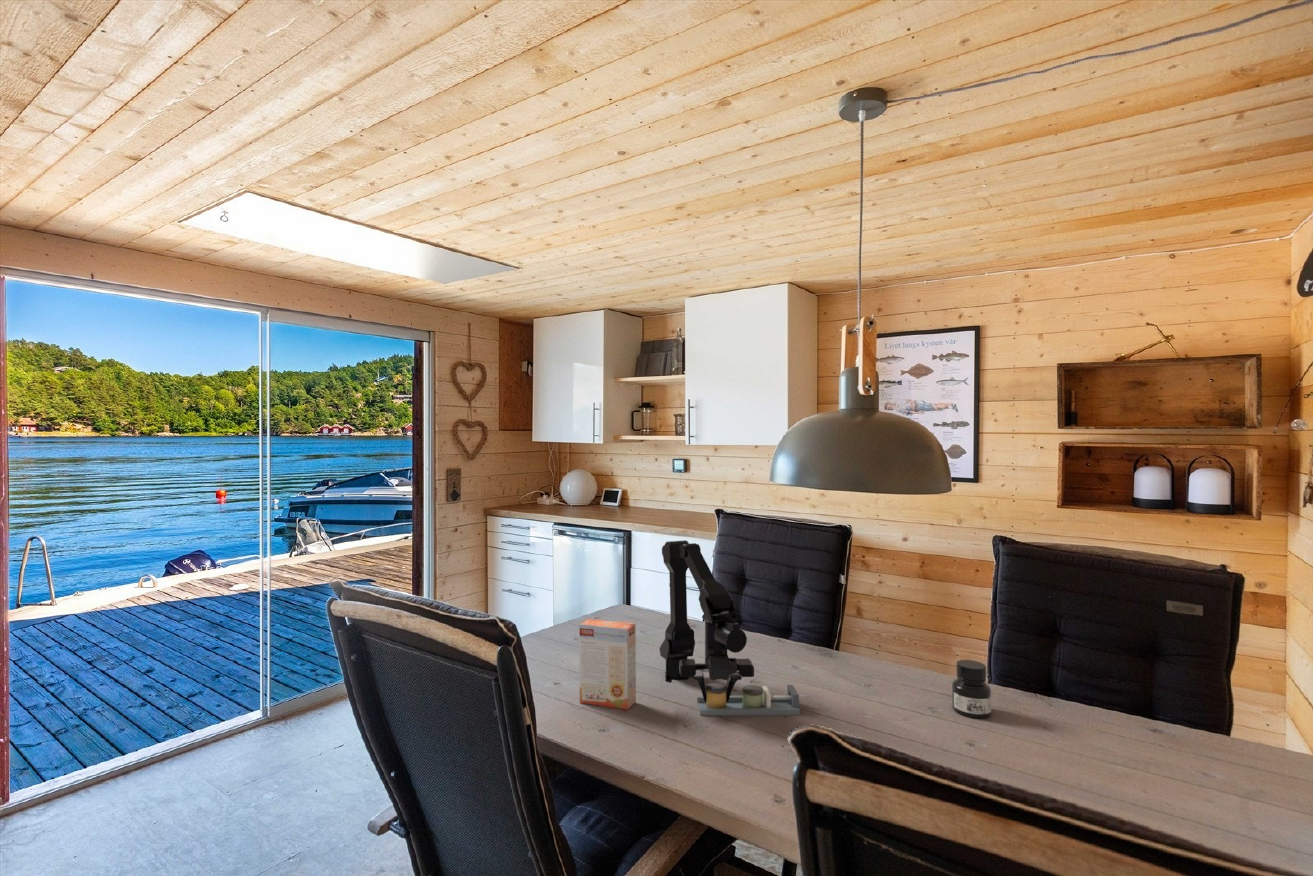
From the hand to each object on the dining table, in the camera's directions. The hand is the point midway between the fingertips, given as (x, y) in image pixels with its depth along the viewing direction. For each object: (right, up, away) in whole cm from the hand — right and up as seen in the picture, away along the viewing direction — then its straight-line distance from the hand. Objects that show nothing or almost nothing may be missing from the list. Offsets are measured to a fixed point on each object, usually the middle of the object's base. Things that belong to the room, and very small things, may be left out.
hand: (716, 701), depth 158 cm
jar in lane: (+9, -2, 0) cm, 10 cm away
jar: (0, -1, 0) cm, 1 cm away
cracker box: (-28, -2, +4) cm, 29 cm away
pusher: (+18, -1, 0) cm, 19 cm away
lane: (+8, -2, 0) cm, 8 cm away
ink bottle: (+65, -3, -1) cm, 65 cm away
